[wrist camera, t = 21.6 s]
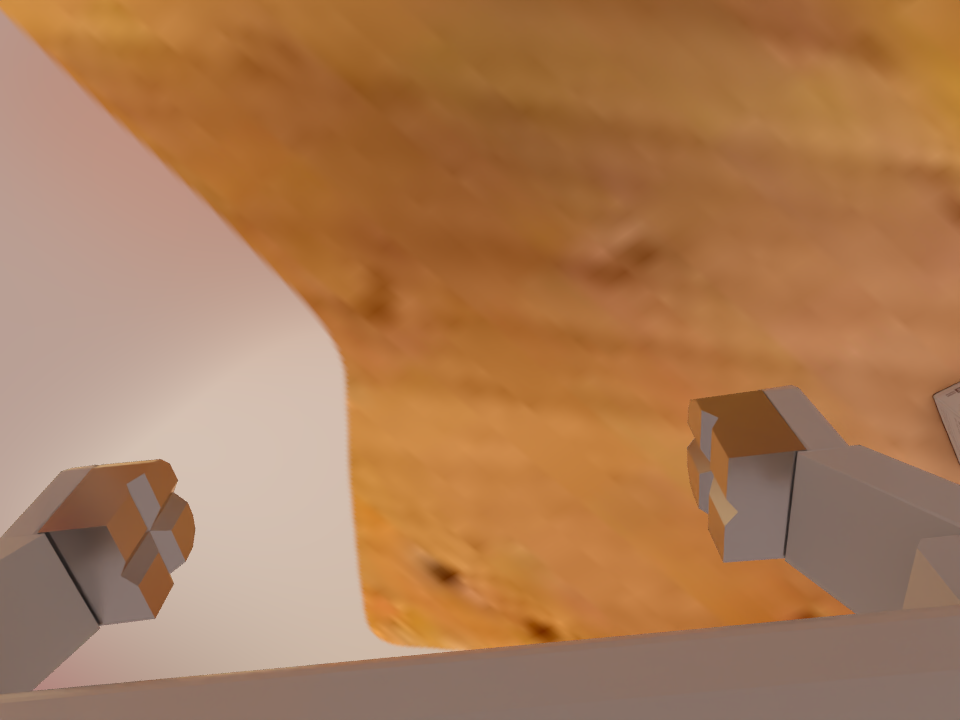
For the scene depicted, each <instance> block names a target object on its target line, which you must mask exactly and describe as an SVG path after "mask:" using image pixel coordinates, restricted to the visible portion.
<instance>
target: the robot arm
mask: <svg viewBox="0 0 960 720" xmlns="http://www.w3.org/2000/svg"><path fill="white" fill-rule="evenodd" d="M688 425H689V427H690V429H691V431H692V433H693V435H694V437H695V438H694V440H693V441H692V442H691V444H690V445H689V446H688V447H687V466H688V473H689V480H690V485H691V489H692V492H693V495H694V498H695V500H696V503H697V505H698V508H699V509H701V510H703V511H704V512H706V513H708V530H709V532H710V535H711V537H712V539H713V541H714V543H715V545H716V548H717V550H718V552H719V554H720V556H721V559H722V561H723V562H737V561H751V560H765V559H778V558H785V561H786V562H787V563H789V564H790V565H791V566H793V567H794V568H795V569H797V570H798V571H799V572H801V573H802V574H803V575H805V576H806V577H808V578H809V579H810V580H812V581H813V582H814V583H816V584H817V585H818V586H820V587H821V588H822V589H824V590H825V591H826V592H828V593H829V594H830V595H832V596H833V597H834V598H836V599H837V600H838V601H840V602H841V603H842V604H844V605H845V606H846V607H848V608H849V609H850V610H852V611H853V612H854V613H856V614H851V615H840V616H829V617H818V618H808V619H797V620H787V621H777V622H767V623H757V624H746V625H735V626H725V627H714V628H703V629H692V630H681V631H670V632H660V633H649V634H638V635H627V636H616V637H606V638H595V639H584V640H573V641H562V642H551V643H541V644H530V645H519V646H508V647H497V648H486V649H476V650H465V651H454V652H443V653H433V654H422V655H413V656H402V657H391V658H380V659H370V660H360V661H349V662H338V663H328V664H317V665H307V666H296V667H286V668H275V669H265V670H253V671H243V672H232V673H221V674H211V675H199V676H189V677H179V678H167V679H156V680H146V681H135V682H124V683H114V684H102V685H92V686H81V687H70V688H59V689H48V690H38V691H32V690H33V689H35V688H36V687H37V686H38V685H39V684H40V683H41V682H42V681H43V680H44V679H45V678H47V677H48V676H49V675H50V674H51V673H52V672H53V671H54V670H55V669H56V668H57V667H59V666H60V665H61V664H62V663H63V662H64V661H65V660H66V659H67V658H68V657H69V656H71V655H72V654H73V653H74V652H75V651H76V650H77V649H78V648H79V647H80V646H82V645H83V644H84V643H85V642H86V641H87V640H88V639H89V638H90V637H91V636H92V635H94V634H95V633H96V632H97V631H98V630H99V629H100V627H99V626H101V625H109V624H118V623H125V622H133V621H140V620H148V619H155V618H156V616H157V614H158V612H159V610H160V609H161V607H162V604H163V603H164V601H165V599H166V597H167V596H168V594H169V592H170V590H171V588H172V586H173V584H174V583H173V580H172V578H171V575H170V573H172V572H173V571H174V570H175V569H177V568H178V567H179V566H181V565H182V564H183V563H184V562H186V560H187V558H188V556H189V554H190V552H191V550H192V547H193V541H194V535H195V525H194V519H193V514H192V512H191V509H190V507H189V504H188V503H187V502H186V501H185V500H183V499H182V498H181V497H179V496H178V495H176V494H175V493H174V490H175V487H176V484H177V482H178V479H177V478H176V475H175V473H174V472H173V470H172V467H171V465H170V464H169V463H167V462H165V461H163V460H161V459H156V460H146V461H135V462H125V463H115V464H114V463H113V464H103V465H92V466H84V467H76V468H71V469H67V470H64V471H61V472H60V473H59V474H58V476H57V477H56V478H55V479H54V480H53V481H52V482H51V483H50V485H48V486H47V488H46V489H45V490H44V491H43V492H42V493H41V494H40V495H39V496H38V497H37V499H36V500H35V501H34V502H33V503H32V504H31V505H30V506H29V507H28V508H27V509H26V510H25V512H24V513H23V514H22V515H21V516H20V517H19V518H18V519H17V520H16V521H15V522H14V524H13V525H12V526H11V527H10V528H9V529H8V530H7V531H6V532H5V533H4V534H3V536H2V537H1V538H0V720H960V485H958V484H956V483H953V482H951V481H949V480H946V479H944V478H941V477H939V476H936V475H934V474H931V473H929V472H926V471H924V470H921V469H919V468H916V467H914V466H911V465H909V464H906V463H904V462H901V461H899V460H896V459H894V458H891V457H889V456H886V455H884V454H881V453H879V452H876V451H874V450H871V449H869V448H866V447H864V446H861V445H855V446H849V445H848V444H847V443H846V442H845V441H844V439H843V438H842V437H841V436H840V435H839V434H838V433H837V431H836V430H835V429H834V428H833V427H832V426H831V425H830V423H829V422H828V421H827V420H826V419H825V418H824V416H823V415H822V414H821V413H820V412H819V411H818V410H817V408H816V407H815V406H814V405H813V404H812V403H811V402H810V400H809V399H808V398H807V397H806V396H805V395H804V393H803V392H802V391H801V390H800V389H799V388H798V387H796V386H793V385H789V386H782V387H776V388H769V389H762V390H758V391H750V392H743V393H736V394H728V395H721V396H714V397H706V398H699V399H692V400H690V402H689V407H688Z"/></svg>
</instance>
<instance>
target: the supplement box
mask: <svg viewBox="0 0 960 720" xmlns="http://www.w3.org/2000/svg"><path fill="white" fill-rule="evenodd" d="M933 397H934V400H935V402H936V405H937V408H938V410H939V413H940V416H941V418H942V421H943V423H944V426H945V428H946V431H947V433H948V435H949V438H950V440H951V443H952V445H953V448H954V450H955V453H956V455H957V458H958V460H959V463H960V382H959V383H957V384H955V385H953V386H951V387H949V388H947V389H944V390H942V391H940V392H938V393H936V394H935V395H934V396H933Z"/></svg>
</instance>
